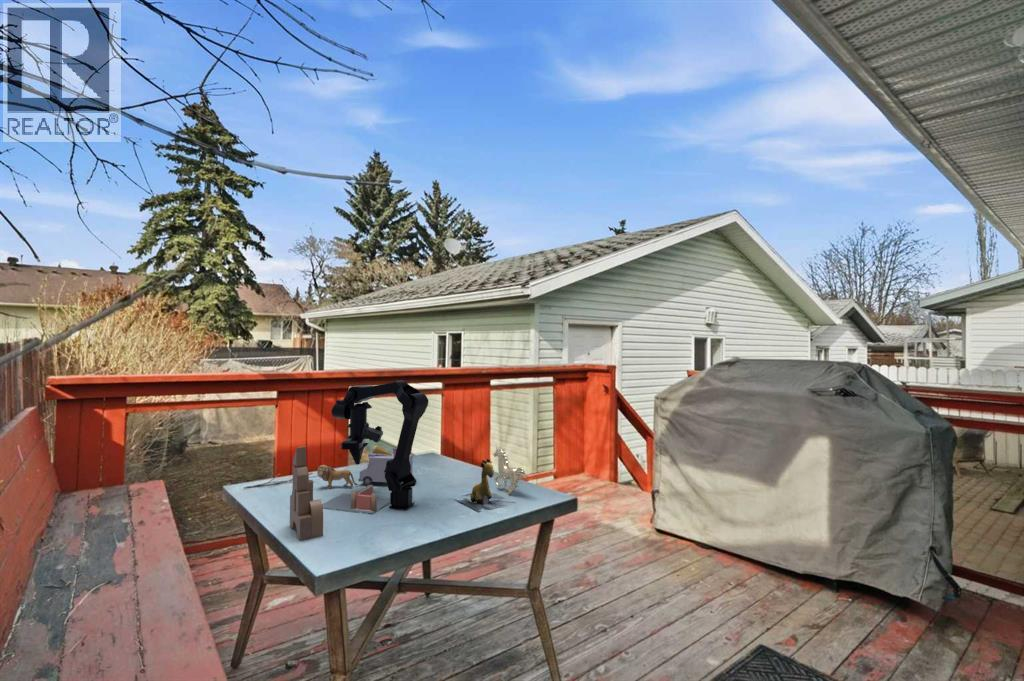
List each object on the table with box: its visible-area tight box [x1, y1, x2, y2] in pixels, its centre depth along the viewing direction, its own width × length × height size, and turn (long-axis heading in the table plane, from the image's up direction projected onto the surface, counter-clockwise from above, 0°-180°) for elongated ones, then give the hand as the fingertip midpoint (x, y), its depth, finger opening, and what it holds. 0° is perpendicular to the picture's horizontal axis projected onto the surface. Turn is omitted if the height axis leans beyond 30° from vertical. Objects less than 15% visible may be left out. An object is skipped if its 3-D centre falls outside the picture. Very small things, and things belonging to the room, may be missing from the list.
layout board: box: [322, 493, 390, 515], centre depth 170 cm, size 21×15×1 cm
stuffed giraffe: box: [452, 458, 517, 513], centre depth 175 cm, size 16×18×16 cm
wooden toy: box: [289, 445, 324, 541], centre depth 146 cm, size 15×7×25 cm, turn 35°
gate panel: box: [356, 484, 374, 496], centre depth 170 cm, size 10×1×4 cm, turn 167°
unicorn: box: [493, 444, 527, 496], centre depth 184 cm, size 20×4×17 cm, turn 37°
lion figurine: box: [316, 464, 359, 490], centre depth 188 cm, size 15×5×9 cm, turn 108°
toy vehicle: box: [357, 445, 414, 486], centre depth 193 cm, size 9×20×15 cm, turn 88°
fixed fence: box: [350, 491, 378, 511], centre depth 163 cm, size 9×2×6 cm, turn 75°
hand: (357, 464), depth 176 cm, fingers closed
